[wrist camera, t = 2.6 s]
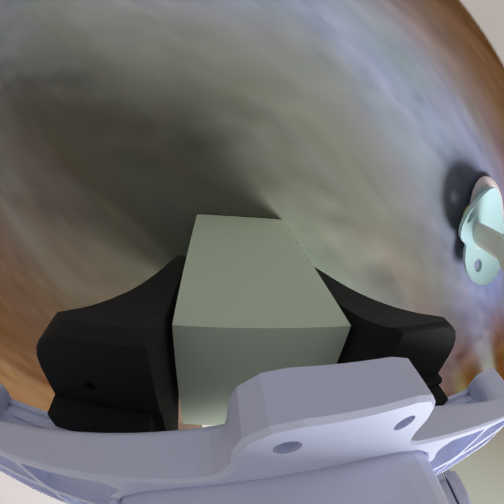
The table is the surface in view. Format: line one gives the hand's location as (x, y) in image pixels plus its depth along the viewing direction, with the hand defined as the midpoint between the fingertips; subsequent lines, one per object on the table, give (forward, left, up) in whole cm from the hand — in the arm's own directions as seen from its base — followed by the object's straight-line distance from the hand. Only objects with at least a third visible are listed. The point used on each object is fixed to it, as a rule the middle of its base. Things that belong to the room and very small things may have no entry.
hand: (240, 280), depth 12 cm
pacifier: (-16, -3, -3) cm, 17 cm away
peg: (0, 0, -2) cm, 2 cm away
